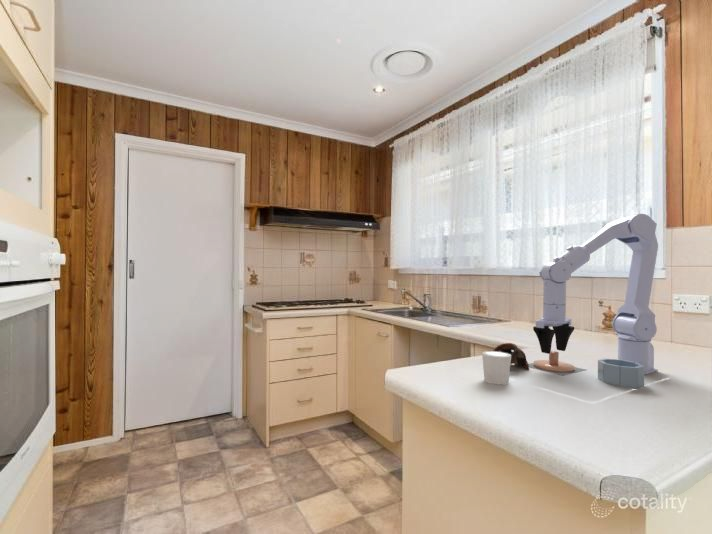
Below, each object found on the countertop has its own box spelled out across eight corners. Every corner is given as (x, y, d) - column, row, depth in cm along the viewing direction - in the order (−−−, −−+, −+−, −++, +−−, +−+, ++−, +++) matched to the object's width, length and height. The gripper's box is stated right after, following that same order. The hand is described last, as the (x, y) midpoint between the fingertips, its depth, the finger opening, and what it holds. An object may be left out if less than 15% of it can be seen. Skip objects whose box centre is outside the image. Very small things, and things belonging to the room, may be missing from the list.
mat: (545, 361, 114) (545, 360, 114) (586, 371, 104) (586, 369, 104) (521, 366, 108) (521, 365, 108) (562, 377, 97) (562, 375, 97)
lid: (546, 361, 113) (546, 346, 113) (582, 369, 104) (582, 353, 104) (525, 365, 107) (526, 350, 107) (561, 374, 98) (561, 358, 98)
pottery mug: (537, 375, 100) (526, 350, 99) (504, 388, 102) (492, 364, 100) (521, 354, 112) (510, 331, 110) (491, 366, 113) (481, 344, 112)
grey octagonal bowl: (609, 376, 99) (609, 357, 99) (648, 385, 91) (649, 364, 91) (592, 380, 94) (592, 361, 94) (632, 390, 87) (632, 369, 87)
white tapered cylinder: (515, 381, 93) (515, 353, 93) (504, 387, 88) (505, 358, 88) (488, 375, 97) (488, 349, 98) (477, 381, 92) (477, 353, 92)
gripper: (555, 302, 113) (554, 346, 113) (526, 303, 105) (525, 351, 105) (579, 304, 107) (578, 351, 107) (549, 305, 99) (549, 356, 99)
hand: (553, 351), depth 106 cm, fingers open, 7 cm apart
